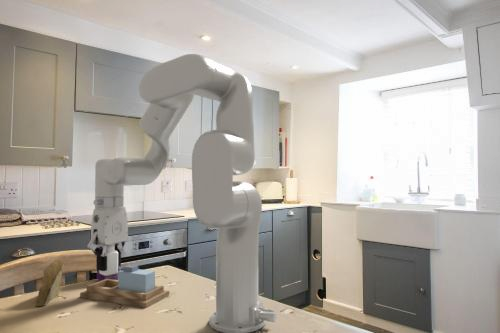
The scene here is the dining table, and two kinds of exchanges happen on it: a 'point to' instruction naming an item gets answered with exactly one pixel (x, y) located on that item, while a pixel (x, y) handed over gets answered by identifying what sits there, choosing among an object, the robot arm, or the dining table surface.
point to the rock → (50, 283)
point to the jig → (123, 294)
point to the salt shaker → (111, 261)
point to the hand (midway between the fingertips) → (108, 267)
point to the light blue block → (136, 279)
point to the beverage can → (113, 276)
